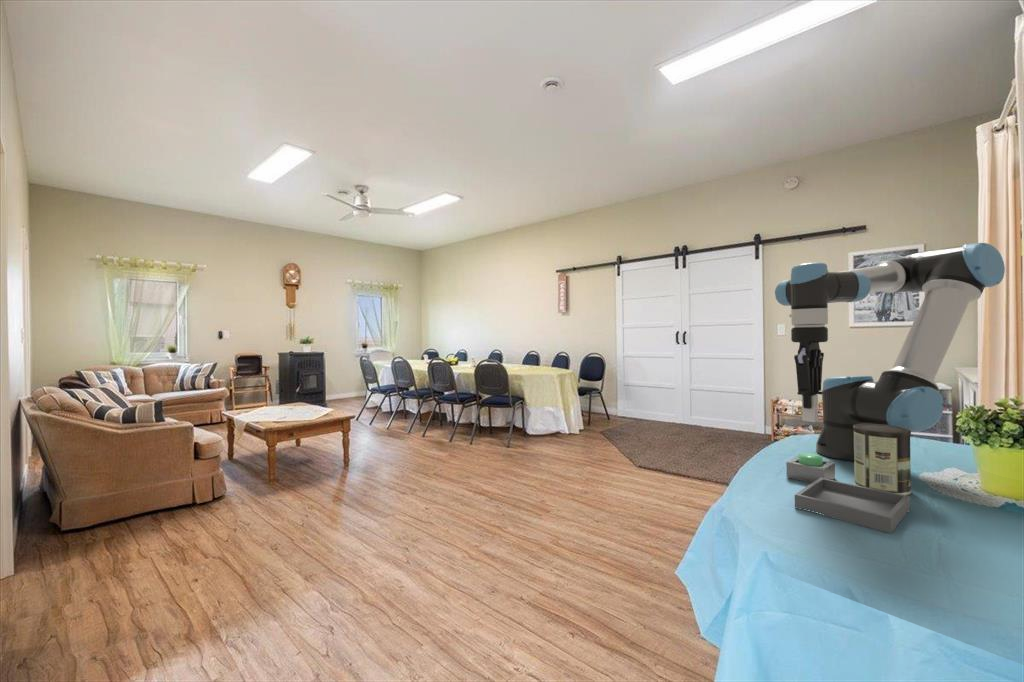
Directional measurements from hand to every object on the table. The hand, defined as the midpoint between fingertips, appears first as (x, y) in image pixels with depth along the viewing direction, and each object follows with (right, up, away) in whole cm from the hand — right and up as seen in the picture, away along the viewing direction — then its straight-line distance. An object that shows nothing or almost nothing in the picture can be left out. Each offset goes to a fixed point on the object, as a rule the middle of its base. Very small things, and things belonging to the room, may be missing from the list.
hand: (810, 420), depth 109 cm
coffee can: (+12, -15, -7) cm, 20 cm away
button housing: (0, -14, 0) cm, 14 cm away
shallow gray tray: (-4, -15, -18) cm, 24 cm away
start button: (0, -13, 0) cm, 13 cm away
